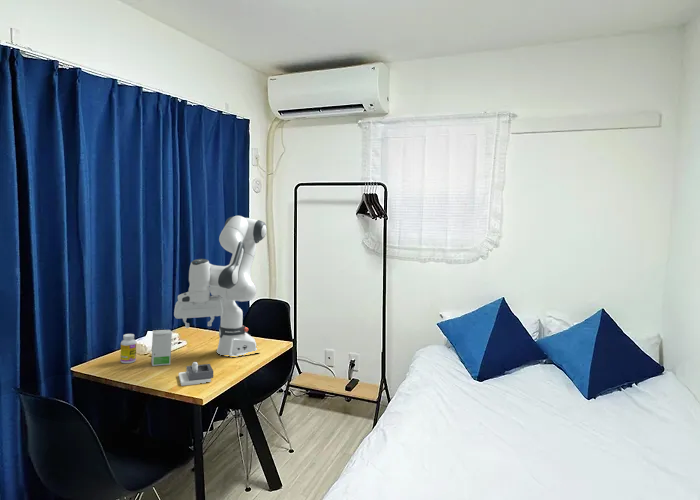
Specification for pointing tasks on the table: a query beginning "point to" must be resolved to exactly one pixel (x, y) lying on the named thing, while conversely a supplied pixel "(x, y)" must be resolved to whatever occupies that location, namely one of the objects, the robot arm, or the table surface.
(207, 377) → the gray square tray
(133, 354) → the supplement bottle
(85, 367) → the table surface
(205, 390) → the table surface
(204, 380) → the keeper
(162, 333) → the skincare box
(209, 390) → the table surface
